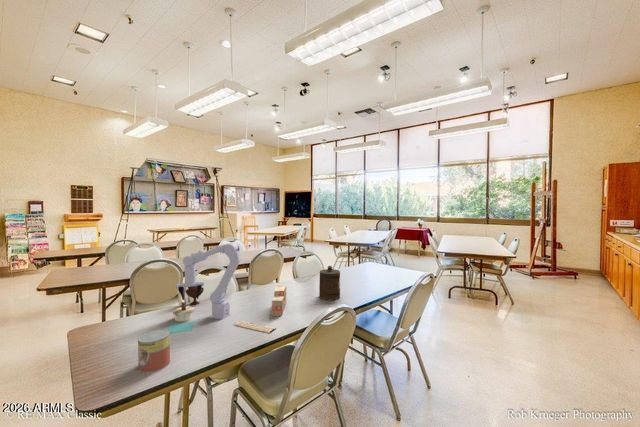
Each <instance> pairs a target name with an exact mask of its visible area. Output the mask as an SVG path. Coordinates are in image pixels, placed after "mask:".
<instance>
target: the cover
mask: <svg viewBox="0 0 640 427" xmlns="http://www.w3.org/2000/svg"><path fill="white" fill-rule="evenodd" d="M180 304H181V307H176V308H175V309H173V310H172V314H173V315H174V316H175V315H186V314H190V313H192V312H193V313H194V312H195V307H193V306H191V305H190V306H189V305H188V306H187V303H186V302H185V301H184V302H181V303H180Z"/></svg>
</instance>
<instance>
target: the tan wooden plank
mask: <svg viewBox="0 0 640 427" xmlns="http://www.w3.org/2000/svg"><path fill="white" fill-rule="evenodd" d="M233 326H235V327H239V328H244V329H248V330H252V331H257V332H260V333H265V334H270V333H271V332H272V331H273V330H277V328H275V327H271V326H266V325H263V324H258V323H253V322H249V321H243V320H237V321H236V322H234V323H233Z"/></svg>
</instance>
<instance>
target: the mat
mask: <svg viewBox="0 0 640 427" xmlns="http://www.w3.org/2000/svg"><path fill="white" fill-rule="evenodd" d="M194 325H195V321H188V322H187V321H185V322H180V323H171V324H169V326H168V329H166V330H167V331H169V332H170V334H175V333H182V332H183V333H186V332H192V330H193V328H194Z"/></svg>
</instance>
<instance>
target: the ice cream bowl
mask: <svg viewBox="0 0 640 427" xmlns="http://www.w3.org/2000/svg"><path fill="white" fill-rule="evenodd" d="M204 290H205V288H204V287H203V286H202V287H201V290H200V292H199V297H200V296H201V295H202V294H203V292H204ZM185 294H186V295H187V296H188V297H189V298H192V299H193V301H192V302H190V306H196V305H199V304H200V302H199V301H198V300H197V286H193V287H187V289H186V290H185Z"/></svg>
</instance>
